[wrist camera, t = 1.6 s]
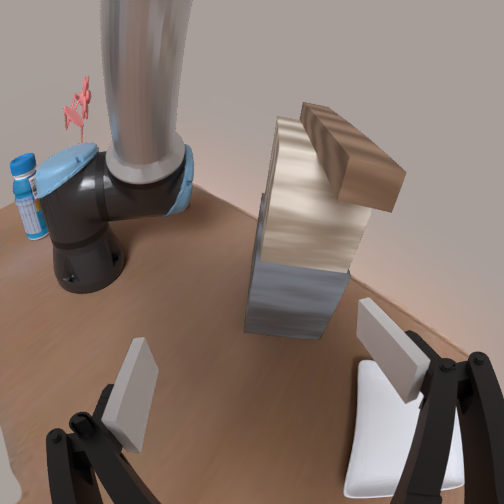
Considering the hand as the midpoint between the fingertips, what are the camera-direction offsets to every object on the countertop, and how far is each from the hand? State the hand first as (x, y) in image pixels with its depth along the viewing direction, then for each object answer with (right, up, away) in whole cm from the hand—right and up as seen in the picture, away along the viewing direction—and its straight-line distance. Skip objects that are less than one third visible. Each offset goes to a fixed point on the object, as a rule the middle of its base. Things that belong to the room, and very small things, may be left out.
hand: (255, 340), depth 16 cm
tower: (+5, -2, +33) cm, 33 cm away
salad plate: (+22, -22, +13) cm, 34 cm away
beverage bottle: (-53, +10, +38) cm, 66 cm away
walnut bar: (+8, +17, +12) cm, 22 cm away
